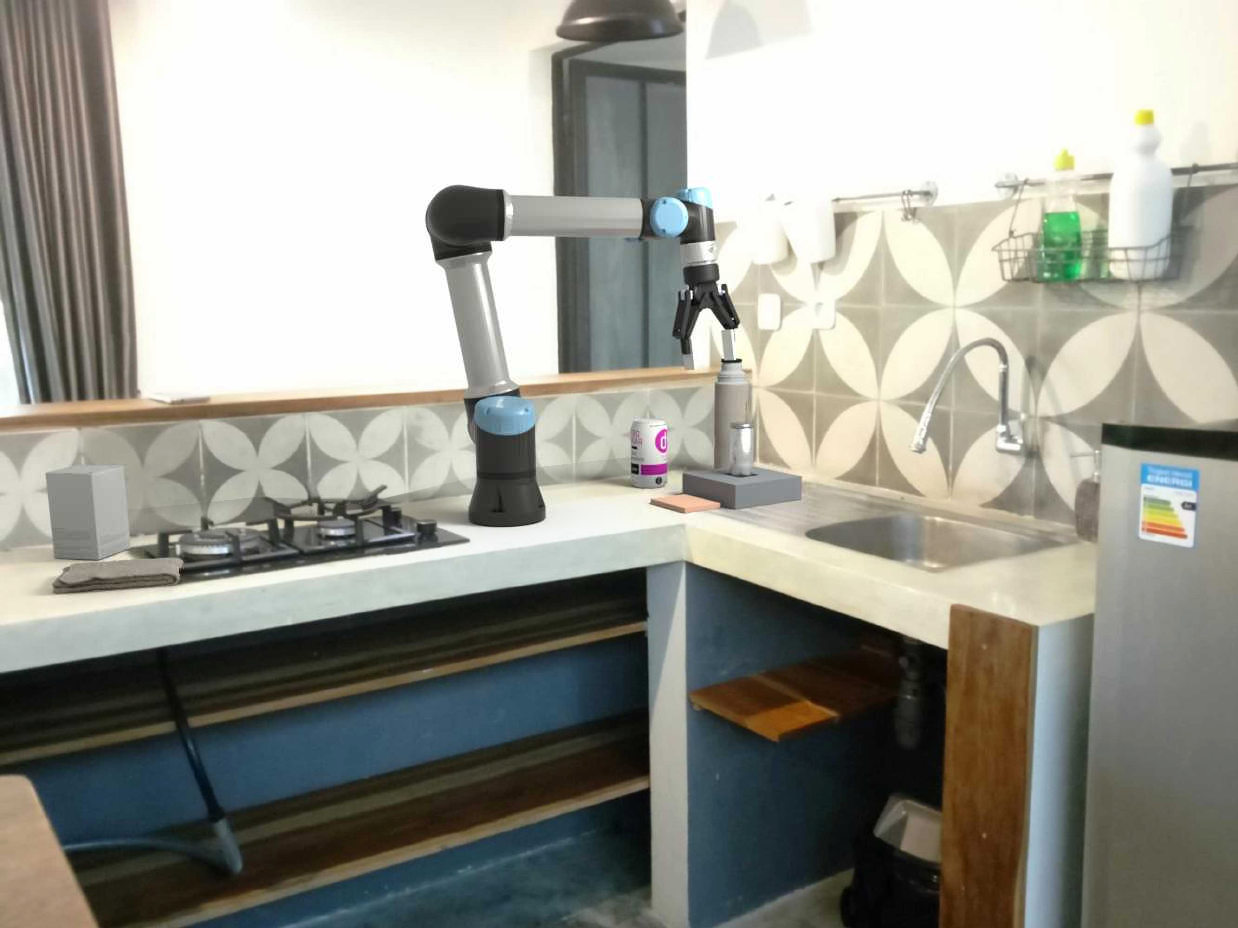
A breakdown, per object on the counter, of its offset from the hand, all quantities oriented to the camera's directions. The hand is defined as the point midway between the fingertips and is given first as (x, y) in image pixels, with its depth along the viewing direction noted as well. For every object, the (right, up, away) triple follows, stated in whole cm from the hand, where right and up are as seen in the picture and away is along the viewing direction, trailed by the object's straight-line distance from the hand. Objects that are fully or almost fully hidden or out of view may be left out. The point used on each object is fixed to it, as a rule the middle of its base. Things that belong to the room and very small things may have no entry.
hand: (711, 364), depth 232 cm
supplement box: (-111, -37, -43) cm, 124 cm away
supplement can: (-13, -26, +16) cm, 33 cm away
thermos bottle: (+7, -24, +28) cm, 38 cm away
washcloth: (-98, -40, -61) cm, 122 cm away
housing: (+7, -28, +2) cm, 29 cm away
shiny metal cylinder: (+7, -28, +2) cm, 29 cm away
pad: (-6, -30, -7) cm, 31 cm away
